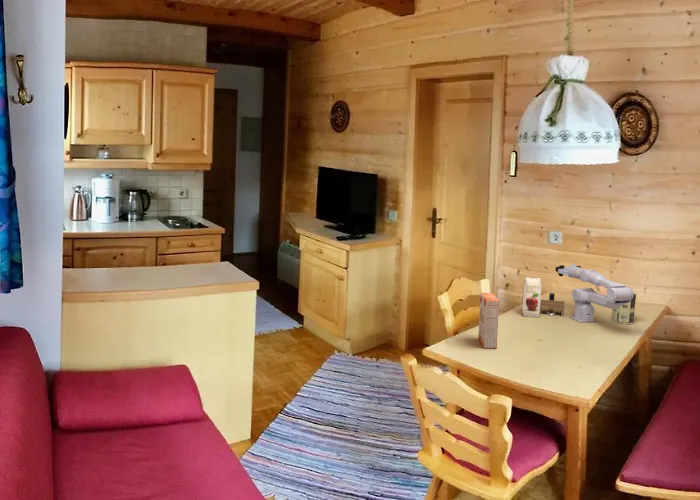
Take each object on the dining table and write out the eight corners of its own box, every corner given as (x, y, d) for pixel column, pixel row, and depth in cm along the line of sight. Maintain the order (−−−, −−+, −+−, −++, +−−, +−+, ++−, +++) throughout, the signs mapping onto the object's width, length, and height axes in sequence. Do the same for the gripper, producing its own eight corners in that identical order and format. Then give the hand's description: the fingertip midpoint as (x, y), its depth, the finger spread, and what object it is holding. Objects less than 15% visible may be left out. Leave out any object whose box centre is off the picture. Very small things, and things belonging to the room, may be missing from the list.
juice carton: (521, 313, 336) (523, 276, 333) (538, 314, 335) (541, 277, 332) (521, 316, 329) (524, 279, 326) (539, 318, 327) (542, 280, 324)
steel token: (556, 316, 334) (556, 314, 333) (549, 316, 333) (549, 314, 333) (552, 314, 337) (552, 312, 337) (545, 314, 337) (545, 312, 336)
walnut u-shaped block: (539, 310, 342) (539, 299, 341) (563, 312, 339) (564, 301, 338) (538, 314, 335) (539, 302, 334) (563, 316, 331) (564, 305, 330)
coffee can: (625, 318, 331) (628, 291, 328) (638, 324, 321) (640, 295, 318) (606, 319, 329) (609, 291, 327) (618, 324, 319) (621, 296, 317)
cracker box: (477, 338, 290) (479, 292, 286) (491, 339, 290) (493, 292, 286) (482, 348, 276) (485, 299, 273) (497, 349, 276) (500, 300, 272)
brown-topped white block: (548, 305, 356) (549, 292, 355) (554, 305, 355) (554, 293, 354) (548, 311, 342) (549, 298, 341) (554, 312, 341) (555, 299, 340)
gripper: (591, 265, 331) (575, 261, 344) (565, 264, 327) (550, 261, 341) (590, 279, 332) (574, 275, 345) (564, 278, 328) (549, 274, 341)
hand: (562, 269), depth 343 cm, fingers open, 7 cm apart
